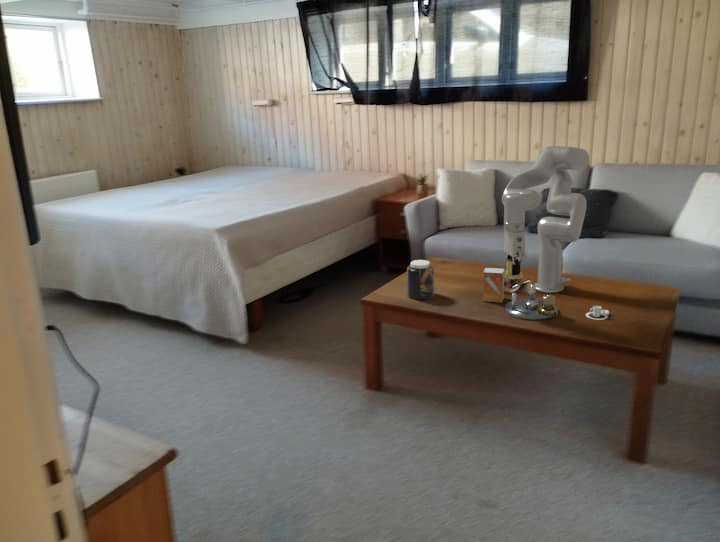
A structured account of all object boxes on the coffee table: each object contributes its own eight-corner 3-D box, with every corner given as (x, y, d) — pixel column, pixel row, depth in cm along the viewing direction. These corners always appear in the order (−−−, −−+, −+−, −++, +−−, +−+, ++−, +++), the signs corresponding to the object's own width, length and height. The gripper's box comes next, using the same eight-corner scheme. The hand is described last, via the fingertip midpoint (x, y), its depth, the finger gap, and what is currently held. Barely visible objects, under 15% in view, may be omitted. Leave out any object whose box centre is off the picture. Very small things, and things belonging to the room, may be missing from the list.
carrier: (542, 299, 249) (542, 280, 247) (567, 316, 230) (569, 296, 228) (497, 304, 245) (497, 286, 243) (519, 323, 227) (520, 303, 224)
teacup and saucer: (608, 313, 233) (608, 303, 231) (611, 321, 225) (612, 311, 224) (584, 312, 235) (584, 302, 233) (586, 320, 227) (587, 310, 226)
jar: (404, 299, 257) (403, 266, 252) (410, 290, 267) (409, 258, 263) (432, 300, 253) (431, 267, 249) (436, 291, 264) (436, 259, 259)
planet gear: (517, 272, 237) (517, 256, 234) (525, 278, 230) (526, 261, 227) (499, 274, 235) (499, 258, 233) (507, 280, 228) (507, 264, 226)
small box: (482, 301, 250) (483, 272, 246) (484, 296, 255) (484, 267, 251) (502, 303, 247) (503, 273, 243) (503, 297, 253) (504, 268, 249)
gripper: (533, 230, 219) (531, 277, 225) (513, 220, 235) (512, 264, 240) (514, 232, 218) (513, 280, 223) (495, 222, 233) (495, 266, 239)
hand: (512, 271), depth 232 cm, fingers closed on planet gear, 4 cm apart
